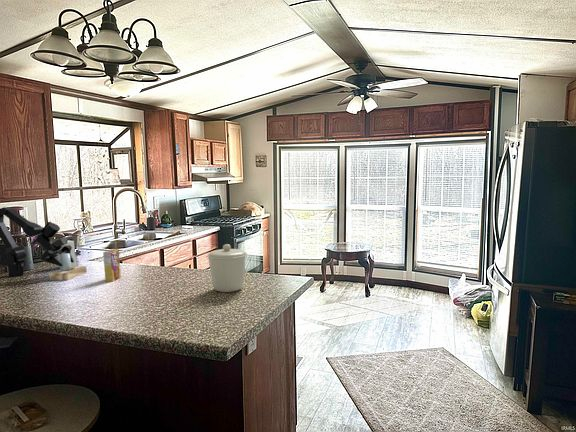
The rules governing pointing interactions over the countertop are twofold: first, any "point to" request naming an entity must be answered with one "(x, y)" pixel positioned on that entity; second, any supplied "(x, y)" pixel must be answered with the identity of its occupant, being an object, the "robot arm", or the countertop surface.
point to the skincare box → (70, 252)
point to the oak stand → (68, 273)
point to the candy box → (112, 265)
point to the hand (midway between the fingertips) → (67, 263)
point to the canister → (227, 268)
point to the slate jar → (65, 262)
